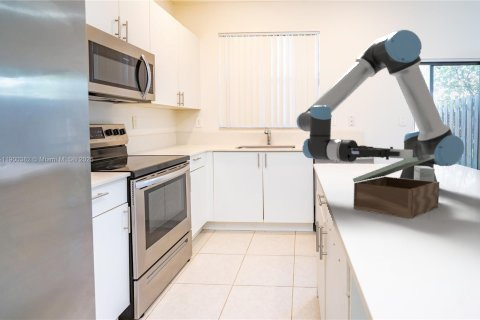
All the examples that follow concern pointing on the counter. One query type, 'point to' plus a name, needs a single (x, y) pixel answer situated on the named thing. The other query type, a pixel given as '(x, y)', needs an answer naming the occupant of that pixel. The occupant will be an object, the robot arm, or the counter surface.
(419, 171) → the ink box
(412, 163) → the lid
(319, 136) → the robot arm
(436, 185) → the wooden box
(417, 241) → the counter surface
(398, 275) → the counter surface
